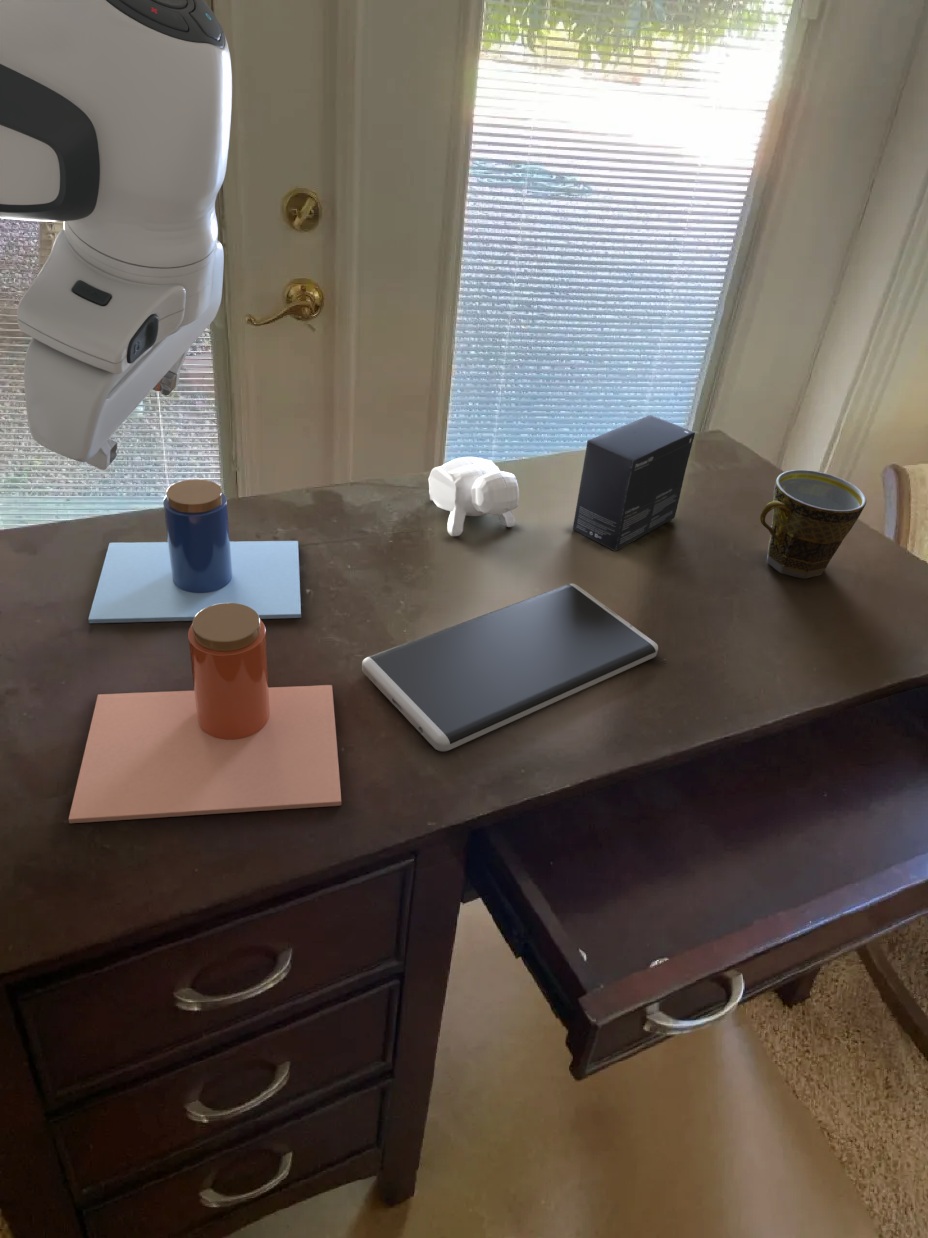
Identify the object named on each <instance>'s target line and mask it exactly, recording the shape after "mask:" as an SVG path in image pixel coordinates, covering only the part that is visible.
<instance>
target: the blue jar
mask: <svg viewBox="0 0 928 1238" xmlns="http://www.w3.org/2000/svg"><path fill="white" fill-rule="evenodd" d="M165 492H166V494H165V496H164V498H163V502H162V505H163V513H164V522H165V523H164V524H165V530H166V538H167V542H168V548H169V556H170V564H171V572H172V580H173V583H174V584H175V585H176V586H177V587H178V588H180V589H181V590H184V591H187V592H192V593H208V592H213V591H216V590H219V589H221V588H223V587H225V586H226V585H228V584H229V582H230V581H231V579H232V563H231V549H230V542H231V539H230V538H231V537H230V525H229V524H230V523H229V509H228V500H227V496H226V494H225V493H223V490H222V487H221V486H220V485H219V484H218V483H216V482H214V481H212V480H208V479H202V478H190V479H184V480H180V481H178V482H174V483H172V484H171V485H170V486H169V487H168V488H167V489H166V491H165Z"/></svg>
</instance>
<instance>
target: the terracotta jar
mask: <svg viewBox="0 0 928 1238" xmlns="http://www.w3.org/2000/svg"><path fill="white" fill-rule="evenodd" d="M265 625H266V624H264V622H263V621H262V619H260V618H259V615H258V614H257V613H256V611H254V610H253V609H252V608H250V607H248V606H245V605H242V604H237V603H221V604H216V605H212V606H209V607H207V608H205V609H203V610H201V611H200V612H199V613H198V614H197V615H196V616H195V617H194V619H193V621H191V625H190V627H189V628H188V631H187V641H188V648H189V658H190V666H191V675H192V684H193V691H194V694H195V702H196V711H197V720H198V724H199V726H200V727H201V729H202V730H203V731H204V732H205V733H207V734H208V735H210V736H213V737H215V738H219V739H226V740H234V739H241V738H245V737H248V736H251V735H253V734H255V733H257V732H258V731H260V730H261V729H262V728H263V727H264V726H265V725H266V723H267V721H268V720H269V716H270V707H269V688H270V687H269V671H268V670H269V669H268V648H267V629H266V626H265Z"/></svg>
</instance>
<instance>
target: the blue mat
mask: <svg viewBox="0 0 928 1238" xmlns="http://www.w3.org/2000/svg"><path fill="white" fill-rule="evenodd" d="M230 549H231V563H232V579H231V581H230V582H229V584H228V585H226V586H225V587H223V588H221V589H219V590H216V591H213V592H208V593H192V592H187V591H184V590H181V589H180V588H178V587H177V586H176V585H175V584H174V583H173V580H172V572H171V564H170V556H169V548H168V541H158V542H157V541H152V542H151V541H150V542H149V541H148V542H147V541H145V542H144V541H143V542H141V541H140V542H138V541H137V542H109V544H108V547H107V550H106V555H105V558H104V561H103V565H102V569H101V572H100V576H99V579H98V583H97V586H96V591H95V594H94V597H93V601H92V604H91V607H90V608H91V609H90V611H89V616H88V619H87V620H88V624H115V623H116V624H117V623H118V624H119V623H156V622H160V623H161V622H193V619H194V617H195V616H196V615H197V614H198V613H199V612H200V611H201V610H203V609H205V608H207V607H209V606H212V605H216V604H221V603H237V604H242V605H245V606H248V607H250V608H252V609H253V610H254V611H256V613H257V614H258V615H259V618H260V620H269V619H270V620H271V619H301V618H302V607H301V605H302V603H301V601H302V600H301V582H300V580H301V578H300V577H301V576H300V556H299V540H259V541H257V540H255V541H253V540H252V541H251V540H250V541H230Z"/></svg>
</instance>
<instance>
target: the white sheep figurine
mask: <svg viewBox="0 0 928 1238" xmlns="http://www.w3.org/2000/svg"><path fill="white" fill-rule="evenodd" d="M517 479H518V478H517V477H516V476H515V474H514V473H512V472H508V471H504V470H503V471H502V470H500V468H499V466H498V465H496V464H495V462H493V460H492V459H485V458H483V457H476V456H462V457H458V458H457V457H456V458H455V459H452V460H450V461H448V462H446V463H444V464H442V465H440V466H435V467H433V468H432V469H431V471H430V473H429V476H428V478H427V480H428V488H429V489H428V494H429V501H432V502H433V503H434V504H435V505H436V507H437V508H440V509H442V510H445V511H448V512H449V515H448V518H447V525H446V530H447V533H448V534H449V536H451V537H458V536H460V535H461V534H462V533H463V532H464V522H465V520H466V517H467V516H468V517H480V516H481V517H482V516H484V515H487V514H489V515H493V516H498V520H499V521H500V523H501V524H502V525H504V527H508V528H512V527H515V525H516V519H515V516H514V514H513V513H512V511H513V510H516V509H517V508H518V506H519V500H520V488H519V484H518V480H517Z"/></svg>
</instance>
